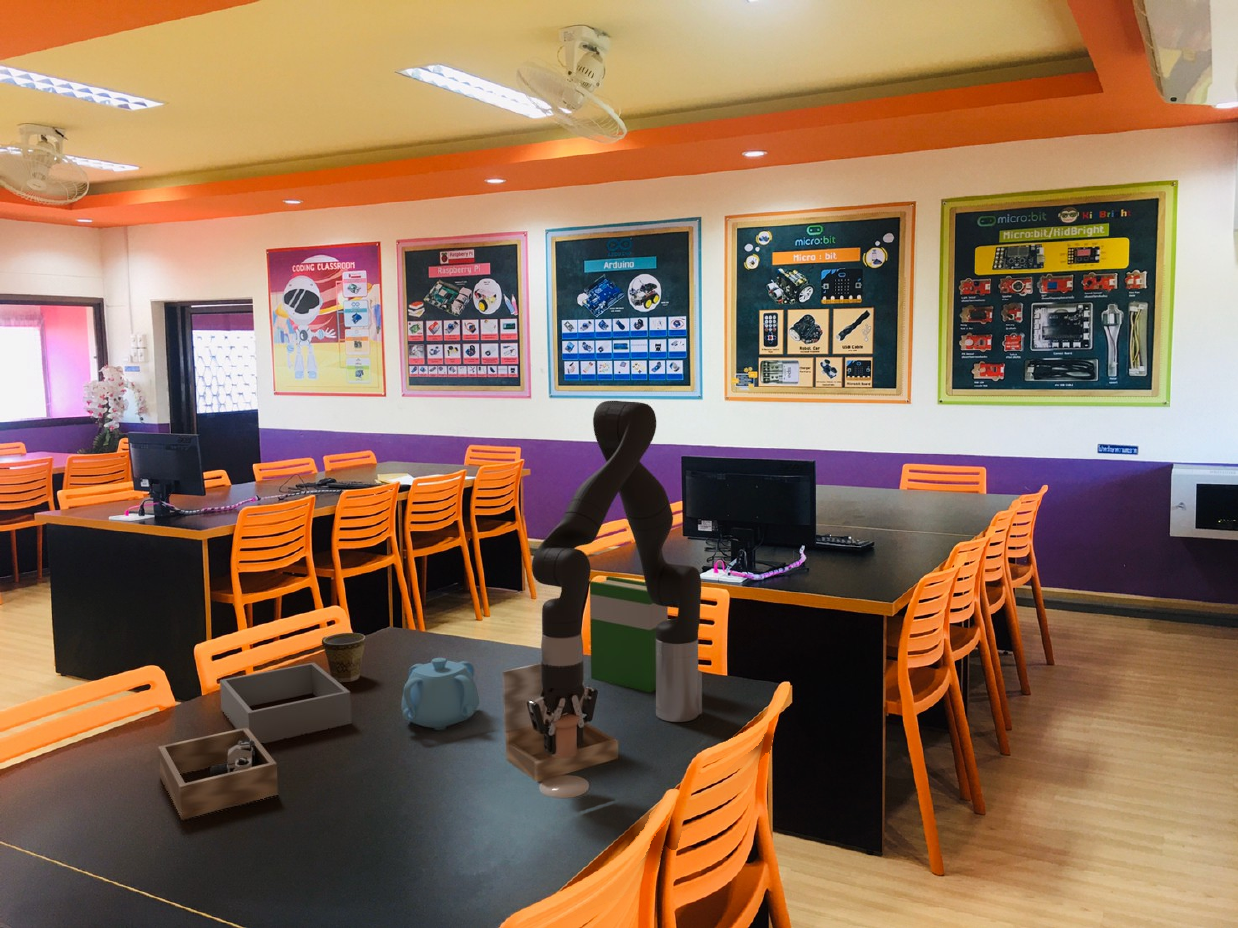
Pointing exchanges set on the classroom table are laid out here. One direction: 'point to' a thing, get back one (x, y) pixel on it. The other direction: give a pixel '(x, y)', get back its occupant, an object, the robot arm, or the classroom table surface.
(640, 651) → the hardback book
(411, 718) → the decorative pot
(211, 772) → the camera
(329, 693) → the tray
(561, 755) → the pot
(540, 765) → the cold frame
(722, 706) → the classroom table surface
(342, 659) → the ceramic cup
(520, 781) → the classroom table surface
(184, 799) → the camera cubby
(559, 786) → the saucer
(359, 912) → the classroom table surface
